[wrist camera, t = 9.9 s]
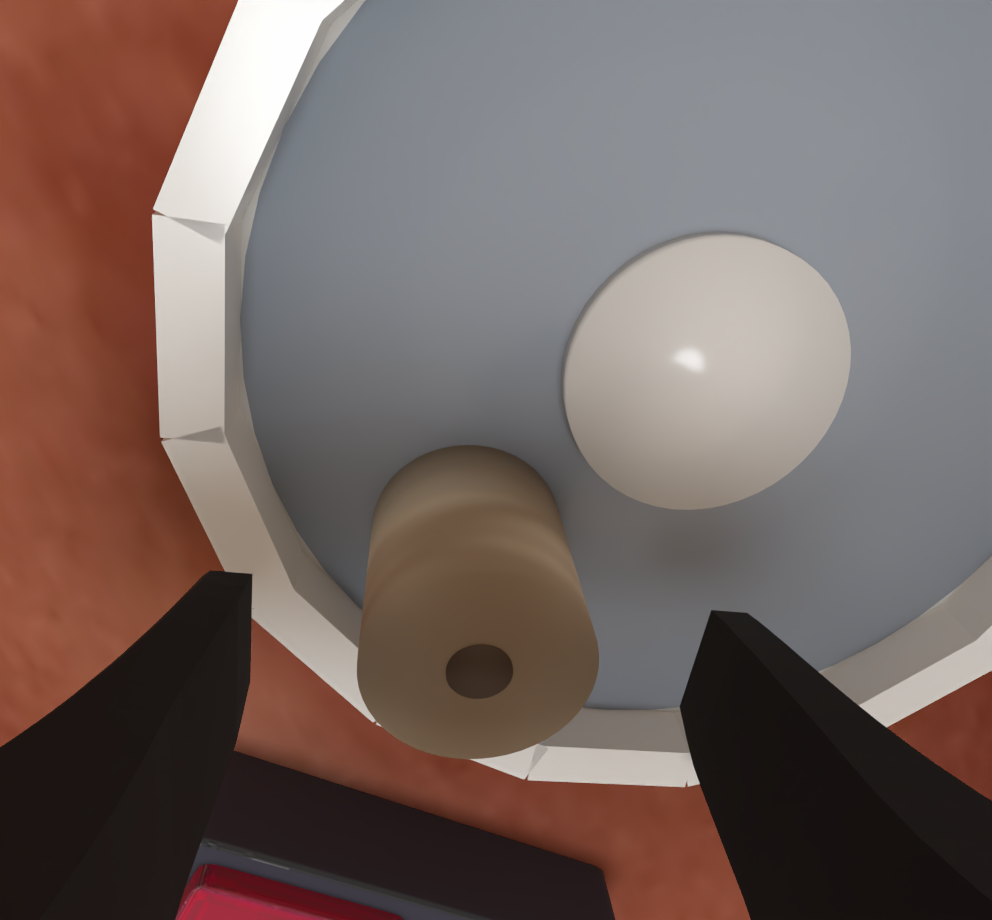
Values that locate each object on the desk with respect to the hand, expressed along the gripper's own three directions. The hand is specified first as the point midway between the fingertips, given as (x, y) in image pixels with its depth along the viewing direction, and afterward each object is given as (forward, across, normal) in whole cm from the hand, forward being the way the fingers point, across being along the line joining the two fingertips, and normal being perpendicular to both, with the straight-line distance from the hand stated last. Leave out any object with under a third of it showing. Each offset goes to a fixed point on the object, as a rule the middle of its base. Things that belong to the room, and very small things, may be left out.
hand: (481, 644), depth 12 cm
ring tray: (+4, -4, -4) cm, 7 cm away
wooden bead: (+3, 0, 0) cm, 3 cm away
